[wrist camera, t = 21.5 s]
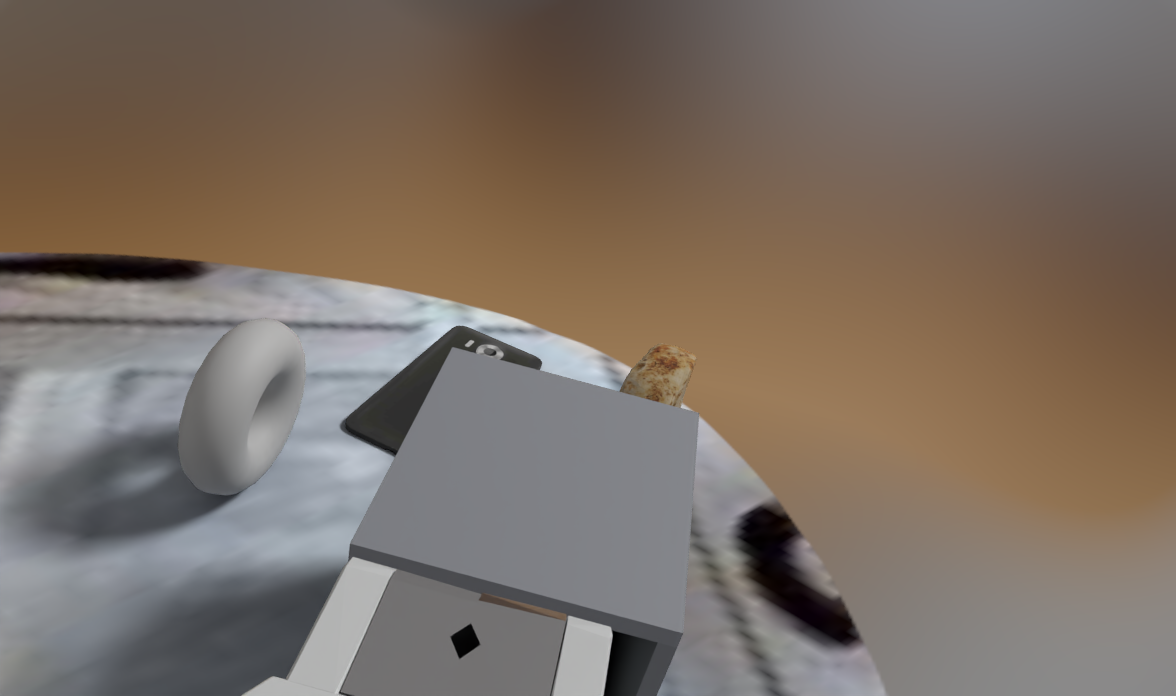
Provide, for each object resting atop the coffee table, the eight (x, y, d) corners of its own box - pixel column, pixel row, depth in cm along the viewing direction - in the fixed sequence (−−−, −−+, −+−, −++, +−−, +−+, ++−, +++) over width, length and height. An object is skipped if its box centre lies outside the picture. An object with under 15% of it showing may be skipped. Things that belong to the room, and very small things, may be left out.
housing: (595, 838, 39) (682, 633, 31) (328, 765, 39) (350, 543, 31) (628, 606, 49) (698, 413, 42) (419, 550, 50) (452, 347, 42)
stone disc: (624, 429, 62) (661, 311, 57) (673, 451, 62) (715, 332, 56) (566, 519, 54) (602, 391, 49) (621, 545, 53) (665, 417, 48)
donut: (228, 542, 47) (226, 395, 42) (167, 523, 47) (157, 374, 42) (313, 430, 56) (320, 296, 50) (261, 414, 56) (263, 278, 50)
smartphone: (544, 368, 67) (546, 359, 67) (441, 481, 55) (443, 471, 55) (456, 330, 69) (458, 321, 68) (338, 432, 57) (339, 422, 56)
